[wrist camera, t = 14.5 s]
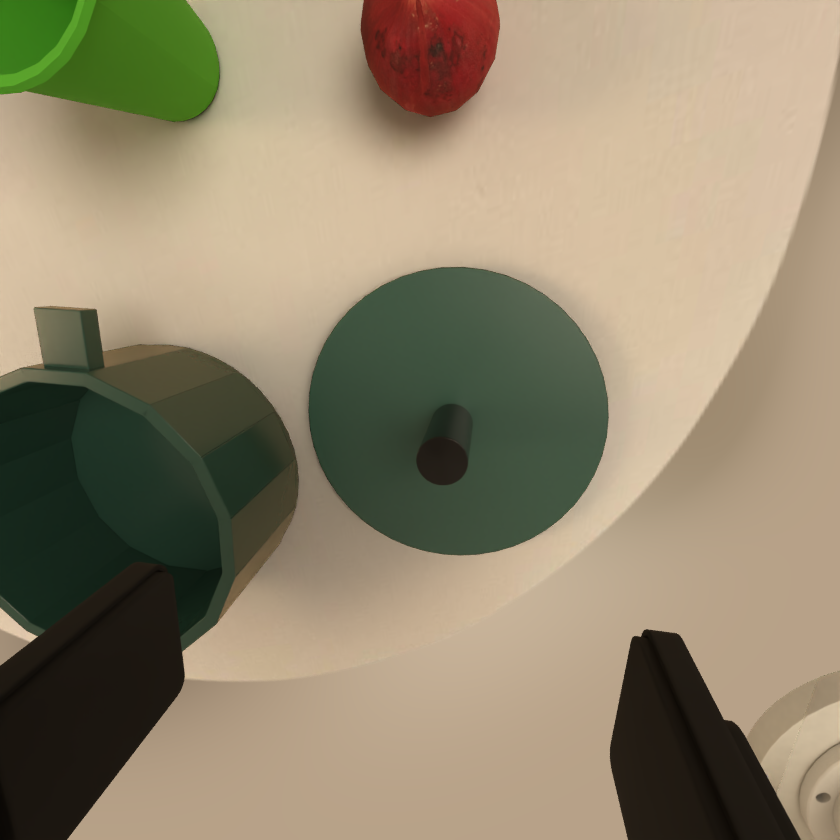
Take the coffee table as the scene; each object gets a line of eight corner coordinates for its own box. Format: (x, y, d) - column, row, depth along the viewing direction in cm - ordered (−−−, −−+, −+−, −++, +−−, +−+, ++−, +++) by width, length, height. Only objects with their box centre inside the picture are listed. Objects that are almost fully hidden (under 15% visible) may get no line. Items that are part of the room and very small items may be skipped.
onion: (506, 117, 24) (514, 45, 17) (396, 147, 25) (355, 93, 18) (487, -20, 23) (484, -166, 15) (370, 19, 24) (314, -100, 16)
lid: (628, 275, 26) (677, 275, 19) (580, 560, 31) (606, 642, 24) (313, 259, 28) (254, 254, 21) (316, 529, 33) (270, 596, 26)
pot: (294, 308, 29) (217, 321, 21) (302, 619, 35) (245, 722, 27) (44, 292, 31) (-117, 299, 22) (94, 589, 37) (-17, 677, 29)
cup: (121, -71, 24) (-158, -330, 14) (282, 14, 24) (126, -182, 14) (81, 116, 27) (-175, 17, 17) (226, 191, 27) (61, 139, 17)
